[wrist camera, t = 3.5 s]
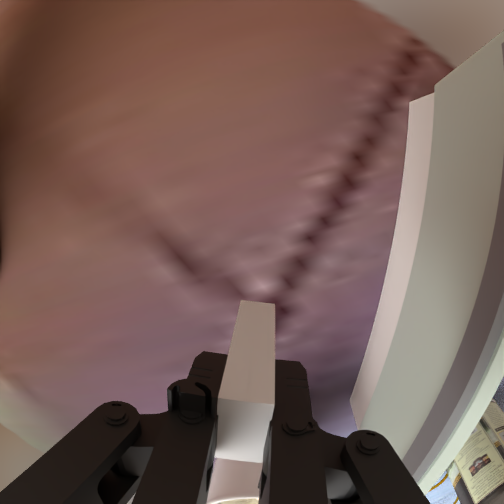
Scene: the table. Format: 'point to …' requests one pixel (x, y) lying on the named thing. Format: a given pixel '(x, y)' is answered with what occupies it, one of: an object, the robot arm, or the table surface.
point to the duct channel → (398, 252)
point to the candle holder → (234, 482)
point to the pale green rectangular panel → (451, 281)
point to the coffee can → (481, 461)
